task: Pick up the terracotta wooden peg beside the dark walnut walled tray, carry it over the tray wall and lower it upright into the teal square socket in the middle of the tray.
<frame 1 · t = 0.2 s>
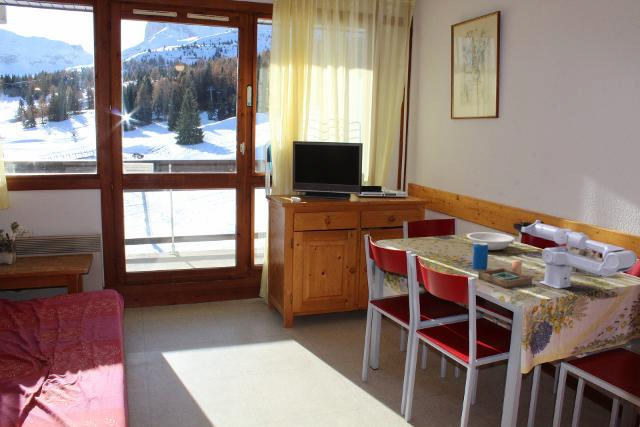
hand: (520, 225, 242), 21 cm above the table, tool horizontal, fingers open, 7 cm apart
walled tray: (504, 281, 232), on the table
beverage can: (479, 270, 250), on the table
ceramic cottage: (581, 272, 247), on the table
terracotta peg: (516, 274, 243), on the table
soup bowl: (489, 249, 291), on the table
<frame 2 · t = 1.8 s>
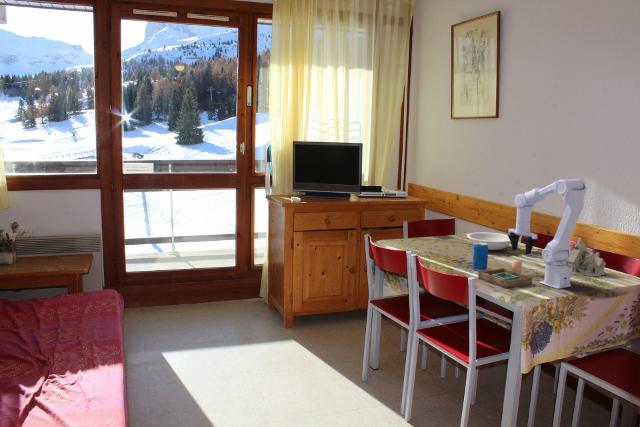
hand: (521, 252, 244), 9 cm above the table, tool pointing down, fingers open, 7 cm apart
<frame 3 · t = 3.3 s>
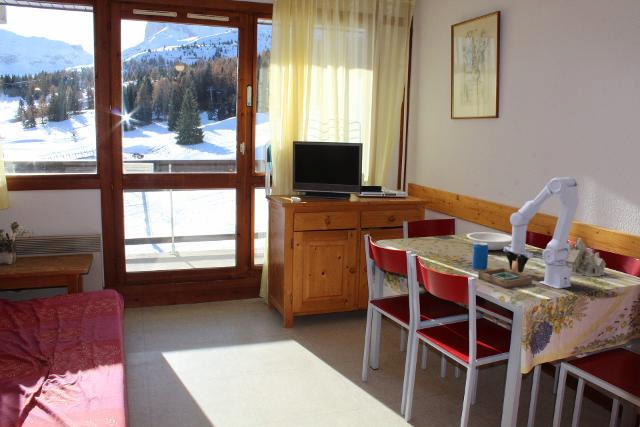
hand: (516, 270, 243), 2 cm above the table, tool pointing down, fingers closed on terracotta peg, 4 cm apart
terracotta peg: (516, 274, 243), on the table, touching gripper
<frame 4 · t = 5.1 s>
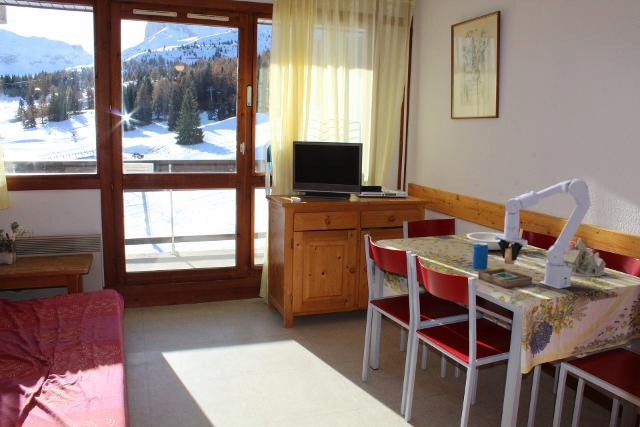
hand: (509, 259, 234), 9 cm above the table, tool pointing down, fingers closed on terracotta peg, 4 cm apart
terracotta peg: (509, 262, 234), point 7 cm above the table, touching gripper
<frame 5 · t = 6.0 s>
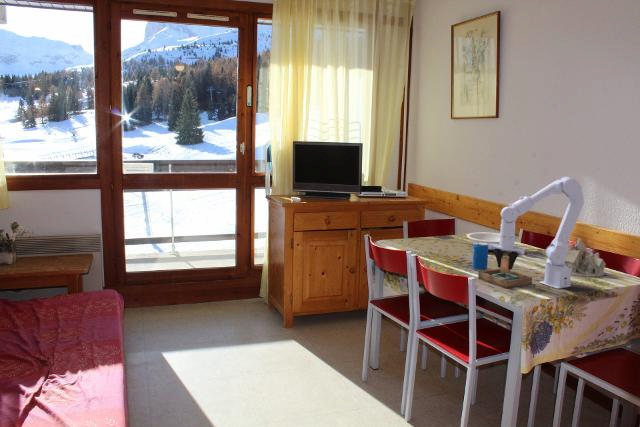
hand: (505, 268, 231), 6 cm above the table, tool pointing down, fingers closed on terracotta peg, 4 cm apart
terracotta peg: (505, 271, 231), point 4 cm above the table, touching gripper
when the fingers open (4 cm above the table, at t = 6.7 s): terracotta peg drops 1 cm, resting on walled tray.
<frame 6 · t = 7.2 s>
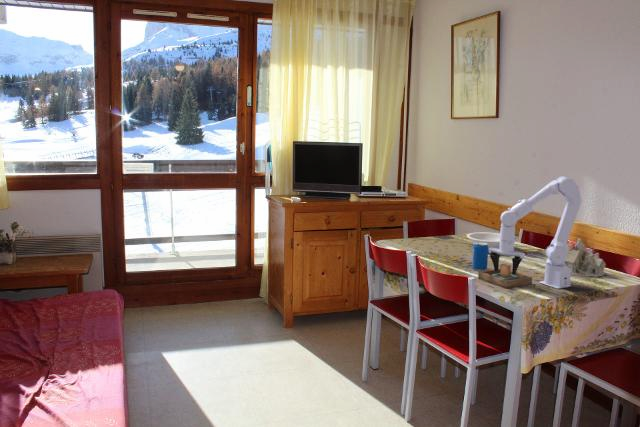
hand: (505, 272, 231), 4 cm above the table, tool pointing down, fingers open, 7 cm apart
terracotta peg: (504, 279, 232), point 1 cm above the table, touching walled tray
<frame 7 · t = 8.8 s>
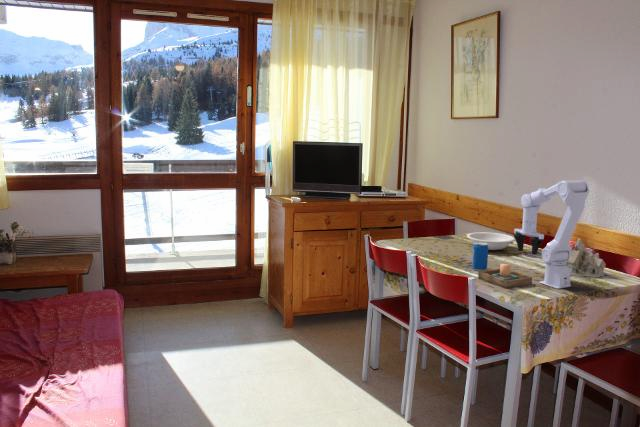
hand: (527, 252, 243), 9 cm above the table, tool pointing down, fingers open, 7 cm apart
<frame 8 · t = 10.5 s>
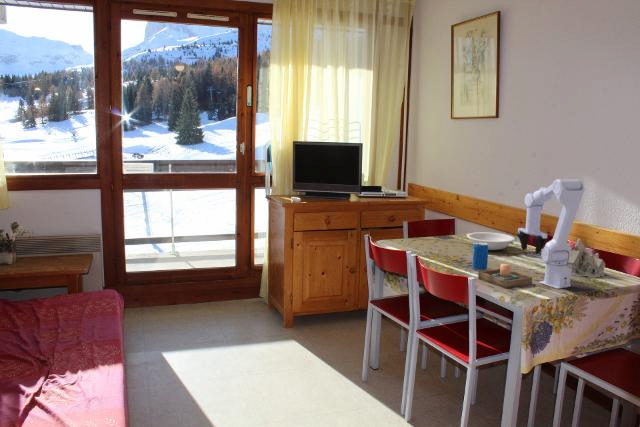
hand: (530, 251, 245), 9 cm above the table, tool pointing down, fingers open, 7 cm apart
at the end: terracotta peg 0.1 cm off-centre on the walled tray, point 1.1 cm above the walled tray's base; terracotta peg tilted 2°; the gripper is holding nothing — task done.
